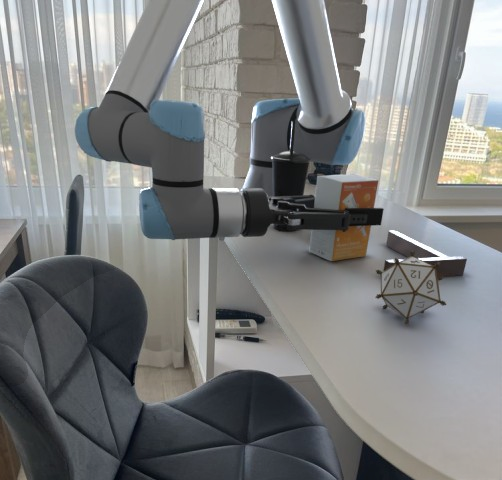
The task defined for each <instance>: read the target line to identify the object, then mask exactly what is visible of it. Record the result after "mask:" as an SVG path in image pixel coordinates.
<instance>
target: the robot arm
mask: <svg viewBox="0 0 502 480" xmlns="http://www.w3.org/2000/svg"><path fill="white" fill-rule="evenodd" d="M204 2H205V0H147V3H146V5H145V7H144V9H143V11H142V14H141V16H140V17H139V19H138V21H137V23H136V26H135V28H134V31H133V33H132V35H131V37H130V39H129V41H128V44H127V46H126V47H125V50H124V52H123V54H122V56H121V58H120V61H119V63H118V65H117V67H116V68H115V71H114V74H113V76H112V78H111V80H110V81H109V85H108V87H107V89H106V91H105V93H104V96H103V97H102V99H101V102H100V104H99V106H92V107H88V108H86V109H84V110H82V111H81V112H79V114H78V115H77V117H76V119H75V123H74V136H75V141H76V143H77V145H78V147H79V148H80V150H81V151H83V153H84V154H86V155H87V156H89V157H92V158H95V159H98V160H101V161H104V162H109V163H110V162H114V163H115V162H116V163H123V164H130V165H134V166H139V167H145V168H151V175H152V176H151V178H152V183H151V185H152V186H149V187H148V188H142V189H141V190H140V191H139V193H138V201H139V202H138V212H139V222H140V223H139V224H140V229H141V232H142V234H143V236H144V237H146V238H147V239H150V240H171V241H175V240H193V239H209V238H210V239H215V238H216V239H217V238H218V240H219V241H221V242H222V241H225V239H226V238H238V237H239V236H240V235H241V236H242V237H243V238H254V237H256V238H258V237H263V236H265V235H266V234H267V232H268V229H269V227H270V226H271V225H274V224H276V226H277V227H287V230H290V231H289V232H293V231H292V230H295V231H300V230H301V231H302V230H305V231H311V230H342V231H343V232H346V230H348V228H349V226H371V227H373V226H382V222H383V214H384V208H383V207H374V208H345V210H334V209H320V208H314V203H315V195H314V194H303V195H299V196H278V197H273V172H272V160H271V156H274V155H276V154H278V153H280V152H283V151H290V142H291V130H292V122H296V125H295V137H294V149H293V151H296V152H300V153H302V154H304V155H305V156H307V157H308V158H310V159H311V162H312V163H317V164H324V165H331V166H348V165H349V164H351V163H352V162H353V161H354V160H355V159H356V157H357V155H358V153H359V151H360V149H361V145H362V142H363V138H364V134H365V129H366V114H365V112H364V110H362V109H359V108H353V105H352V100H351V97H350V95H349V93H347V92H346V91H345V90H343V89H342V86H341V81H340V76H339V71H338V66H337V60H336V55H335V50H334V45H333V40H332V34H331V29H330V25H329V18H328V13H327V8H326V2H325V0H271V2H272V6H273V10H274V13H275V17H276V20H277V24H278V27H279V31H280V35H281V38H282V42H283V46H284V49H285V52H286V56H287V60H288V63H289V67H290V71H291V75H292V78H293V81H294V85H295V89H296V93H297V96H298V97H293V98H277V99H275V98H274V99H265V100H260V101H258V102H256V103H255V104H254V105H253V108H252V115H251V116H252V117H251V122H250V123H251V136H250V159H249V160H250V161H249V169H248V171H247V175H246V177H245V180H244V183H243V186H242V188H241V189H240V190H239V188H237V187H212V188H211V187H210V188H209V187H208V188H205V187H204V178H205V177H204V174H205V139H206V133H205V127H204V125H205V124H204V110H203V107H202V105H200V104H199V103H198V102H195V101H189V100H188V101H186V100H168V99H160V98H161V96H162V94H163V92H164V89H165V87H166V85H167V83H168V80H169V78H170V76H171V74H172V72H173V69H174V68H175V65H176V63H177V61H178V59H179V56H180V54H181V52H182V49H183V47H184V45H185V43H186V41H187V39H188V37H189V35H190V32H191V30H192V28H193V26H194V24H195V21H196V19H197V17H198V15H199V13H200V10H201V8H202V6H203V3H204ZM311 162H310V163H311Z"/></svg>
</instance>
